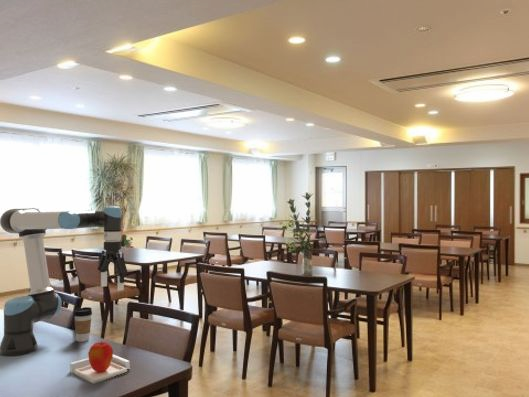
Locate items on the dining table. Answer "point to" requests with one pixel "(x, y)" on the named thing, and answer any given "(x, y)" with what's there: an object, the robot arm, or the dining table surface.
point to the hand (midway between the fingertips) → (112, 288)
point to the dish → (99, 373)
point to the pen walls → (86, 362)
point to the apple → (100, 356)
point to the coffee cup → (82, 323)
